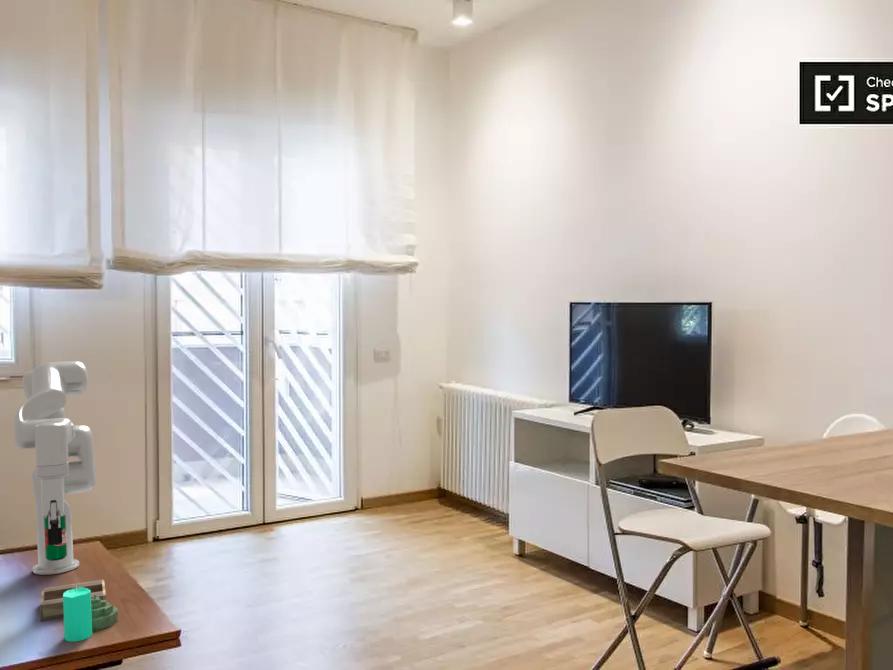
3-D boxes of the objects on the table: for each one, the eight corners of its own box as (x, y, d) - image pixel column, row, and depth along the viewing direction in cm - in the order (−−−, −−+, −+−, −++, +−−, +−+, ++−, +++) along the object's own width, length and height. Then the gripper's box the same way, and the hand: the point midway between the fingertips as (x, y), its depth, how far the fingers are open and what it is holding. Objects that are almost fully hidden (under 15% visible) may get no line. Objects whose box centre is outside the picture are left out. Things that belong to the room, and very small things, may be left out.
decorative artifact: (69, 622, 199) (78, 634, 191) (68, 594, 199) (77, 605, 191) (112, 612, 205) (122, 624, 197) (111, 585, 205) (121, 595, 197)
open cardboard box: (42, 603, 213) (42, 588, 213) (104, 594, 219) (104, 579, 219) (40, 621, 200) (40, 605, 200) (106, 610, 206) (105, 595, 206)
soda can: (58, 561, 205) (56, 514, 204) (41, 561, 206) (39, 514, 205) (71, 555, 210) (69, 509, 209) (54, 555, 211) (52, 509, 210)
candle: (70, 632, 193) (68, 582, 192) (96, 630, 193) (94, 580, 193) (60, 642, 187) (58, 590, 186) (87, 640, 187) (85, 589, 187)
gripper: (37, 466, 213) (40, 535, 214) (34, 478, 198) (37, 552, 198) (69, 464, 216) (72, 531, 217) (68, 474, 201) (71, 547, 201)
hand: (55, 540), depth 207 cm, fingers closed on soda can, 5 cm apart
